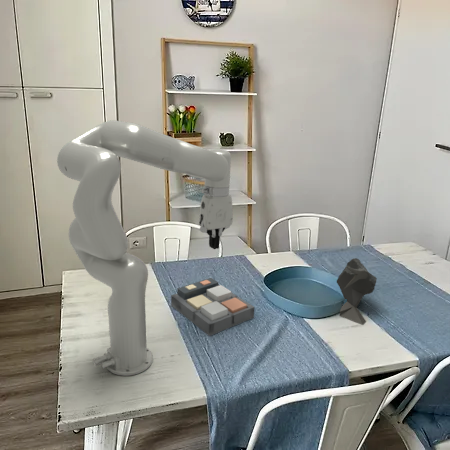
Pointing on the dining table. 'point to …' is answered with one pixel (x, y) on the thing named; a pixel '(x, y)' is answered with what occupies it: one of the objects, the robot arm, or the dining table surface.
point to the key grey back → (219, 293)
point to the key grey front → (214, 311)
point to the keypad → (195, 315)
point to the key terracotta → (234, 305)
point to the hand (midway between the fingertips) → (214, 247)
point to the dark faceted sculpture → (355, 289)
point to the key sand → (198, 301)
